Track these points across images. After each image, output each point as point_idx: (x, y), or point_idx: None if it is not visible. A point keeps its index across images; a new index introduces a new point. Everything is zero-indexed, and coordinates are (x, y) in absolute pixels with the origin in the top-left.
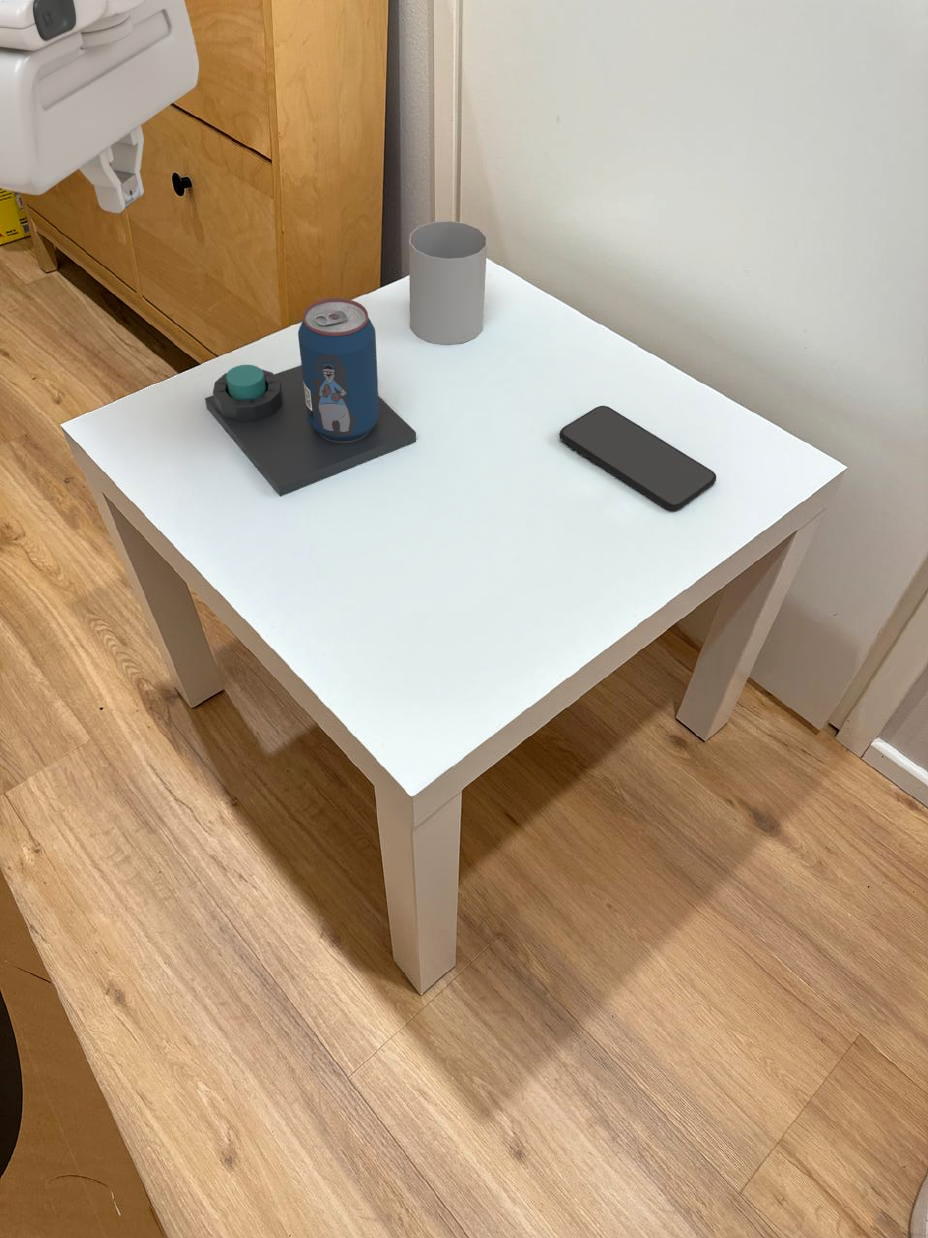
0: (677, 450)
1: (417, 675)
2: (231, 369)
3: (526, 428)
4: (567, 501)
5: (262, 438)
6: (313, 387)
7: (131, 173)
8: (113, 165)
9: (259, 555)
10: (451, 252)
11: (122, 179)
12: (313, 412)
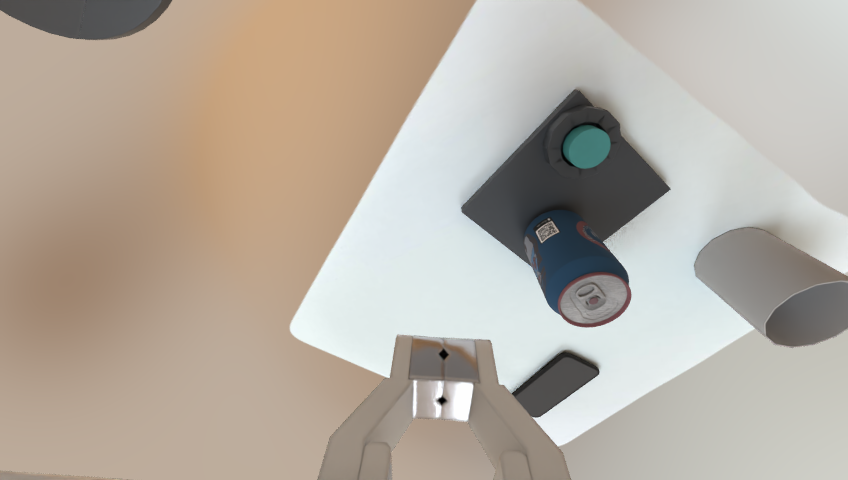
0: (556, 404)
1: (345, 321)
2: (599, 130)
3: (575, 332)
4: (502, 360)
5: (521, 175)
6: (539, 251)
7: (469, 416)
8: (479, 395)
9: (396, 216)
10: (825, 287)
11: (435, 412)
12: (534, 233)
